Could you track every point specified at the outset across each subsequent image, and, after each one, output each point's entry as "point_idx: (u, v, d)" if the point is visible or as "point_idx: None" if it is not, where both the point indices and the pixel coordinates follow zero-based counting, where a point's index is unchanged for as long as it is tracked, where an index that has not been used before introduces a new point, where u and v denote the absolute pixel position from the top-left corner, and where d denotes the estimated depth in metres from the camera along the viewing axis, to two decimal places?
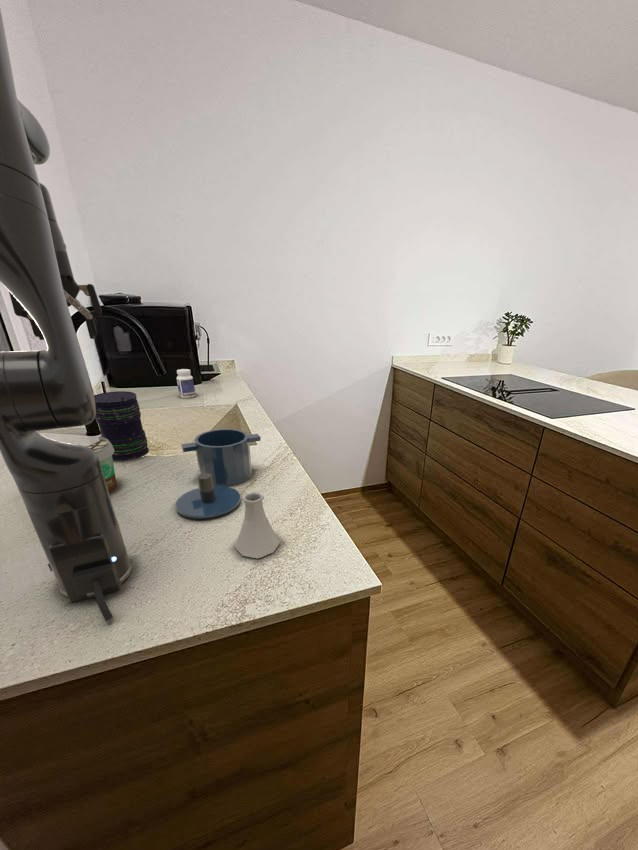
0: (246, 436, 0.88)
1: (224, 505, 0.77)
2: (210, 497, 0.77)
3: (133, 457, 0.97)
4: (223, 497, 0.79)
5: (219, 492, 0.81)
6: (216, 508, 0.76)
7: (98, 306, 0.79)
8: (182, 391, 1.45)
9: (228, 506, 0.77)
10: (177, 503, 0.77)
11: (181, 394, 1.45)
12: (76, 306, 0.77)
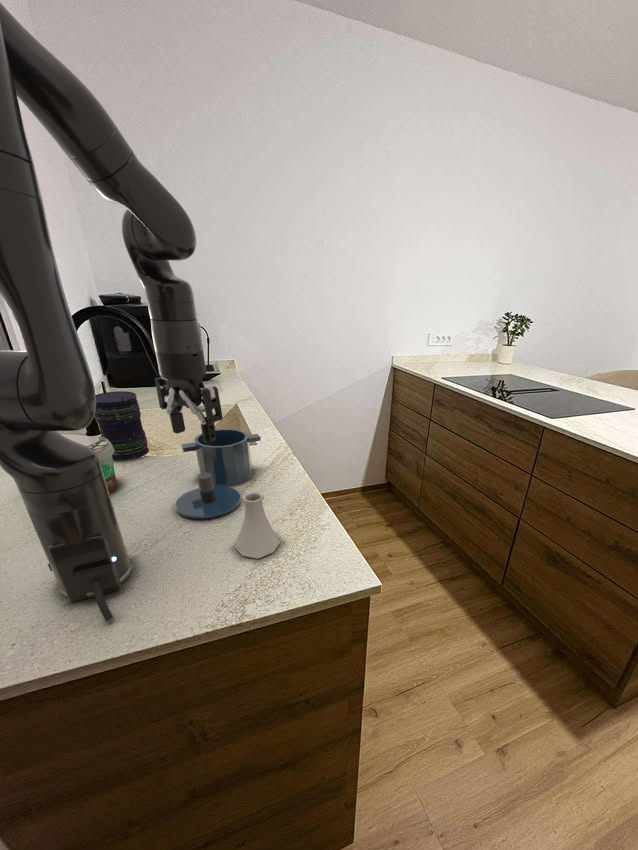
0: (246, 436, 0.88)
1: (224, 505, 0.77)
2: (210, 497, 0.77)
3: (133, 457, 0.97)
4: (223, 497, 0.79)
5: (219, 492, 0.81)
6: (216, 508, 0.76)
7: (209, 413, 0.66)
8: None
9: (228, 506, 0.77)
10: (177, 503, 0.77)
11: None
12: (192, 410, 0.67)
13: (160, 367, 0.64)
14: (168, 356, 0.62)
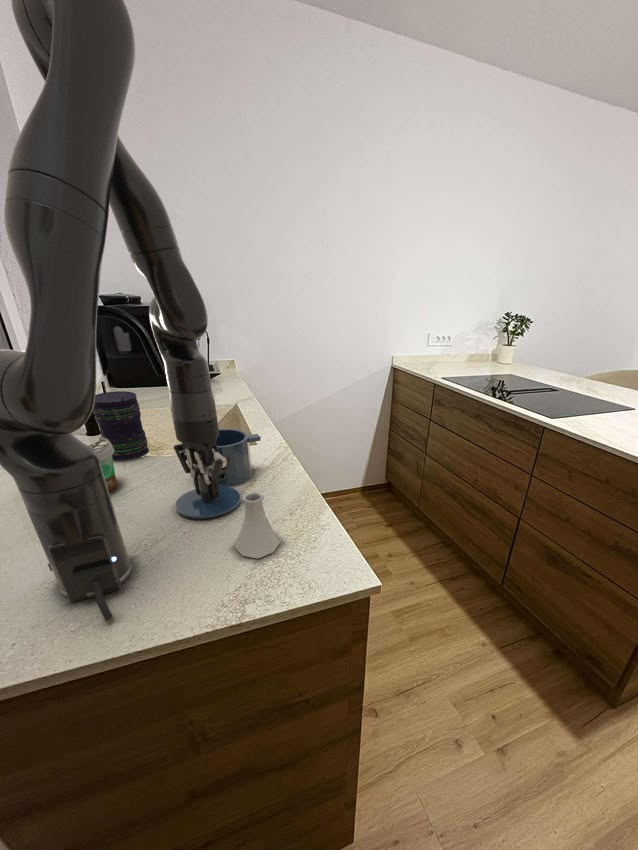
0: (246, 436, 0.88)
1: (224, 505, 0.77)
2: None
3: (133, 457, 0.97)
4: (223, 497, 0.79)
5: (219, 492, 0.81)
6: (215, 508, 0.76)
7: (215, 478, 0.72)
8: None
9: (228, 506, 0.77)
10: (177, 503, 0.77)
11: None
12: (201, 470, 0.73)
13: (177, 433, 0.69)
14: (185, 424, 0.67)
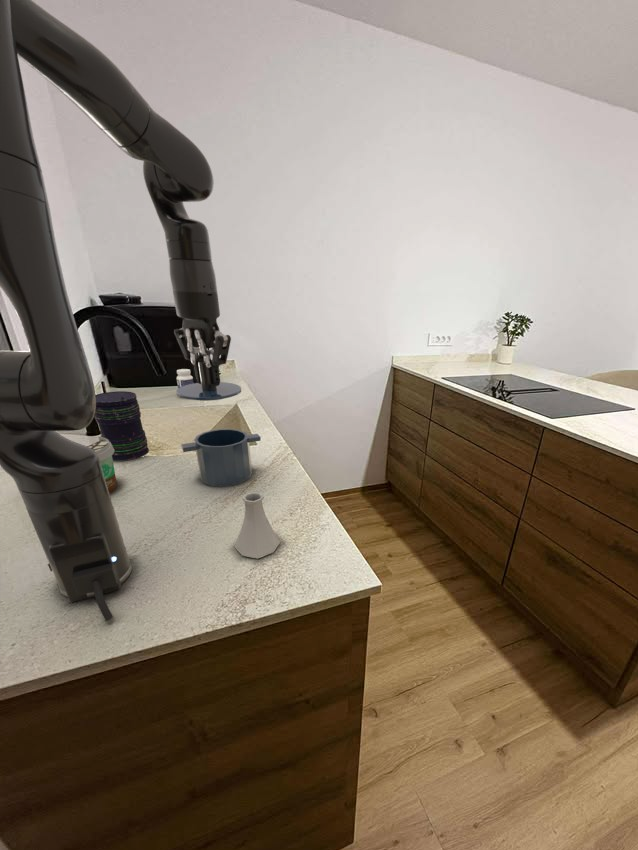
0: (246, 436, 0.88)
1: (225, 392, 0.76)
2: None
3: (133, 457, 0.97)
4: (223, 388, 0.79)
5: (220, 385, 0.81)
6: (216, 393, 0.75)
7: (216, 357, 0.72)
8: None
9: (229, 393, 0.76)
10: (178, 390, 0.76)
11: None
12: (202, 351, 0.72)
13: (177, 306, 0.68)
14: (185, 294, 0.67)
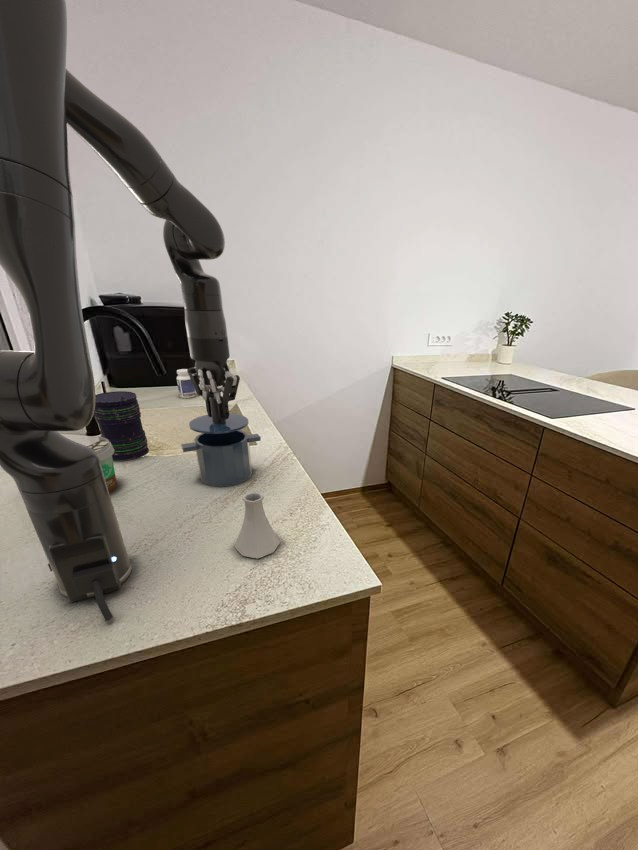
0: (246, 436, 0.88)
1: (234, 425, 0.83)
2: None
3: (133, 457, 0.97)
4: (232, 420, 0.86)
5: None
6: (226, 427, 0.82)
7: (226, 395, 0.79)
8: (182, 391, 1.45)
9: (237, 426, 0.83)
10: (190, 423, 0.83)
11: (181, 394, 1.45)
12: (213, 389, 0.79)
13: (191, 350, 0.75)
14: (199, 341, 0.74)
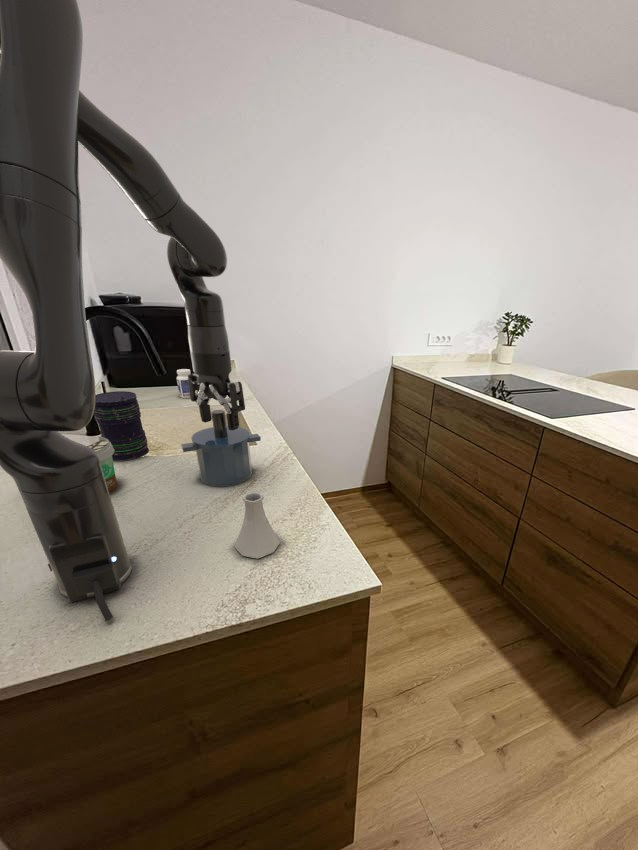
0: None
1: (235, 439, 0.85)
2: (223, 432, 0.85)
3: (133, 457, 0.97)
4: (234, 434, 0.87)
5: (230, 430, 0.89)
6: (228, 440, 0.84)
7: (234, 404, 0.78)
8: (182, 391, 1.45)
9: (239, 439, 0.85)
10: (193, 437, 0.85)
11: (181, 394, 1.45)
12: (220, 401, 0.80)
13: (194, 365, 0.77)
14: (201, 356, 0.75)
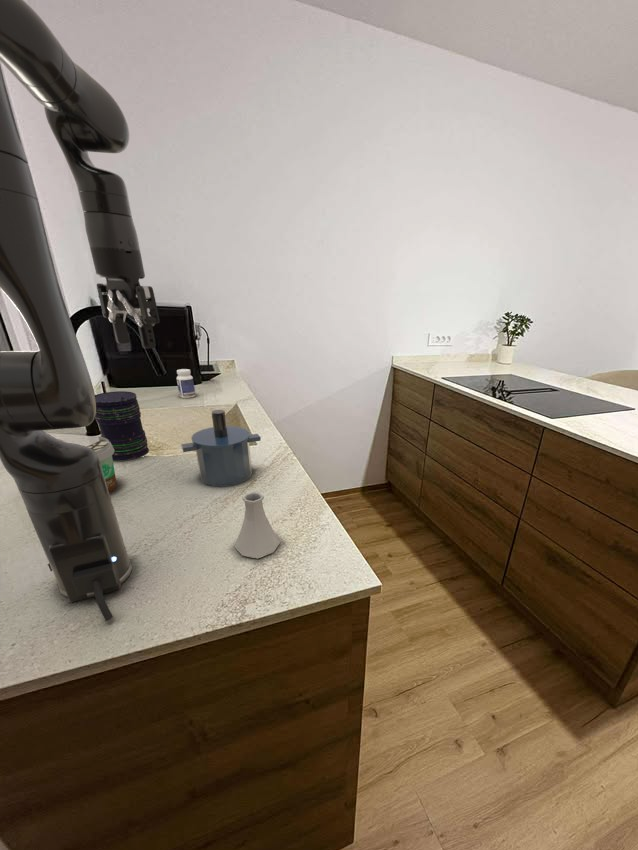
0: None
1: (235, 439, 0.85)
2: (223, 432, 0.85)
3: (133, 457, 0.97)
4: (234, 434, 0.87)
5: (230, 430, 0.89)
6: (228, 440, 0.84)
7: (144, 312, 0.67)
8: (182, 391, 1.45)
9: (239, 439, 0.85)
10: (193, 437, 0.85)
11: (181, 394, 1.45)
12: (129, 311, 0.68)
13: (95, 264, 0.65)
14: (101, 250, 0.64)
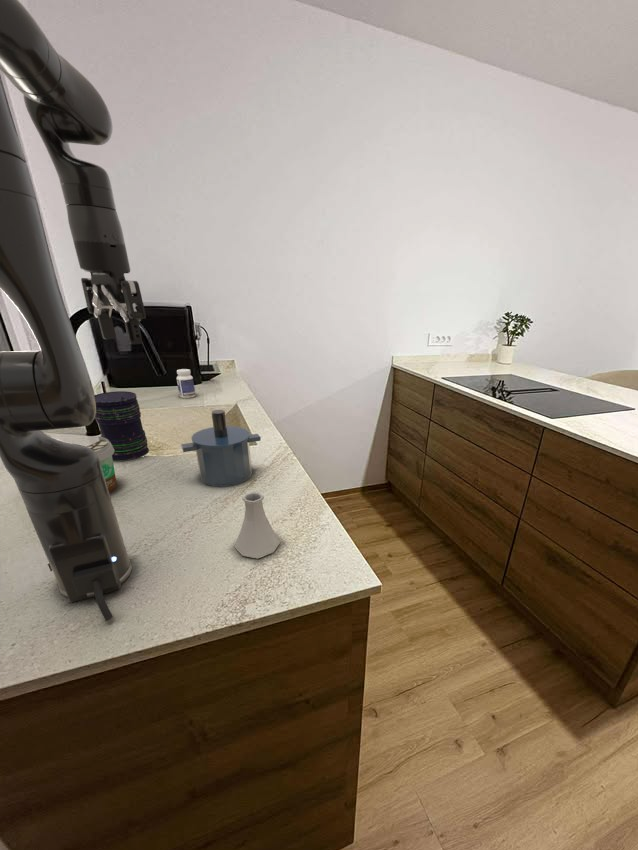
0: None
1: (235, 439, 0.85)
2: (223, 432, 0.85)
3: (133, 457, 0.97)
4: (234, 434, 0.87)
5: (230, 430, 0.89)
6: (228, 440, 0.84)
7: (129, 307, 0.66)
8: (182, 391, 1.45)
9: (239, 439, 0.85)
10: (193, 437, 0.85)
11: (181, 394, 1.45)
12: (114, 306, 0.67)
13: (79, 258, 0.64)
14: (84, 244, 0.62)
